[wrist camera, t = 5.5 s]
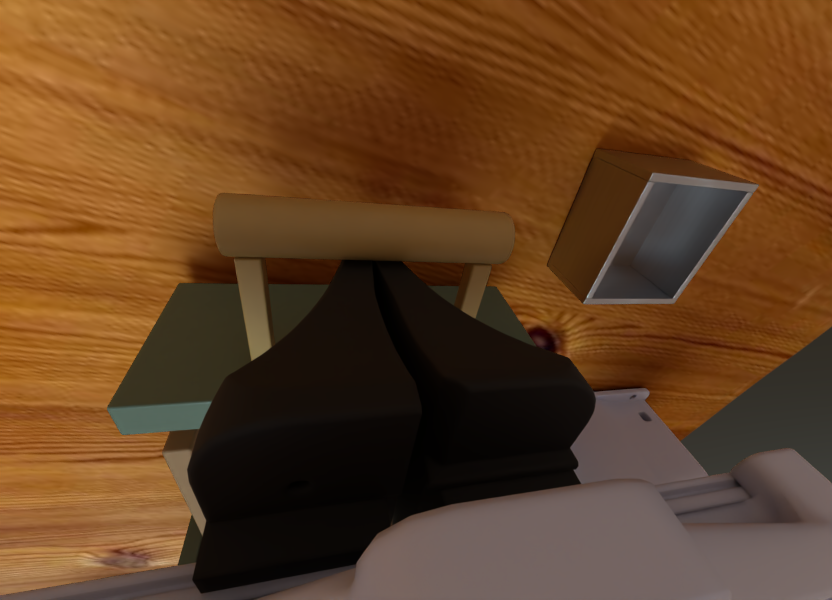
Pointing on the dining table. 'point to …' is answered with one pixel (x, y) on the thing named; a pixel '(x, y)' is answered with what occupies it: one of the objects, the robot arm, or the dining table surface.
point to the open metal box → (643, 227)
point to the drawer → (290, 299)
